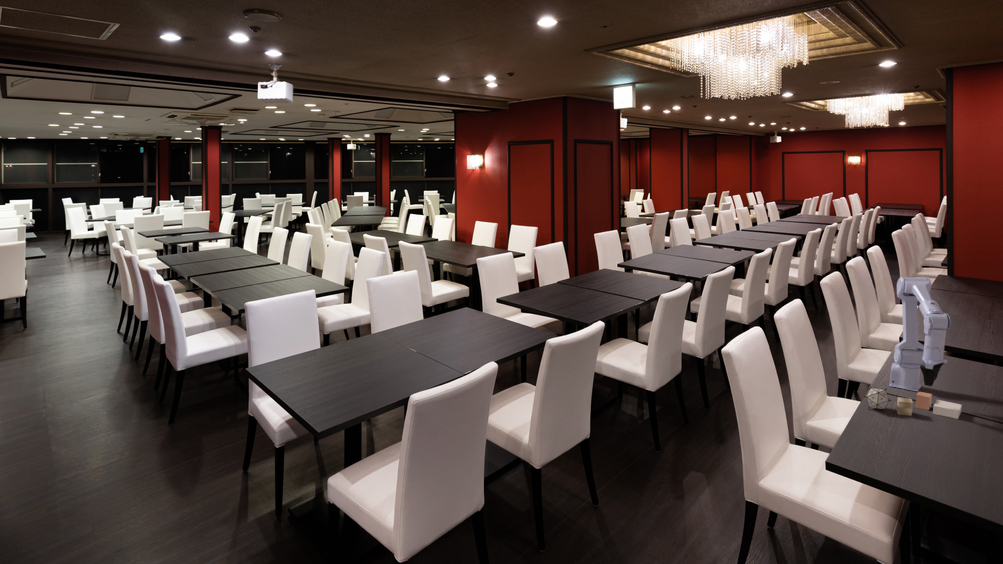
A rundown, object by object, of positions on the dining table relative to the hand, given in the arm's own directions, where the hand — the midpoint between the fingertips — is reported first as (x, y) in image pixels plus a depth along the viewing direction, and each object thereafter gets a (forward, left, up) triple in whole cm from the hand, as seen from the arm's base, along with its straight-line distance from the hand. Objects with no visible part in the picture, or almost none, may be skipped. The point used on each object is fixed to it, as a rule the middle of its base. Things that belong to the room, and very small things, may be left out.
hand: (930, 382), depth 202 cm
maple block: (-5, -11, -10) cm, 16 cm away
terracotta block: (-1, -1, -10) cm, 10 cm away
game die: (-13, -13, -10) cm, 21 cm away
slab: (+6, -2, -10) cm, 11 cm away
